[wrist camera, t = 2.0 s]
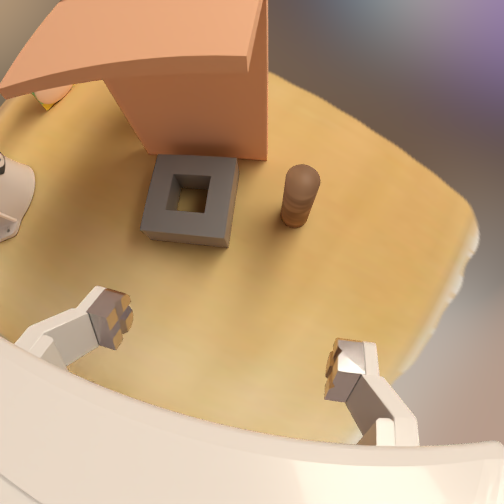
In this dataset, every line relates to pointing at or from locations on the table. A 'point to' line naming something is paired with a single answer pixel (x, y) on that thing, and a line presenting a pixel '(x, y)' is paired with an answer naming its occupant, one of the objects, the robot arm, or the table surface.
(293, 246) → the table surface
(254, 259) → the table surface
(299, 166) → the peg
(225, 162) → the socket
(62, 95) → the hamburger
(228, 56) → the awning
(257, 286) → the table surface
